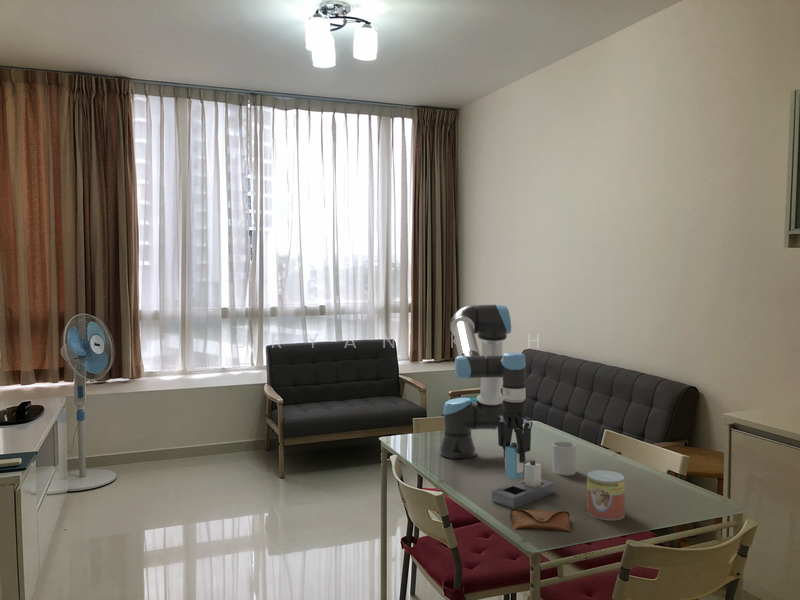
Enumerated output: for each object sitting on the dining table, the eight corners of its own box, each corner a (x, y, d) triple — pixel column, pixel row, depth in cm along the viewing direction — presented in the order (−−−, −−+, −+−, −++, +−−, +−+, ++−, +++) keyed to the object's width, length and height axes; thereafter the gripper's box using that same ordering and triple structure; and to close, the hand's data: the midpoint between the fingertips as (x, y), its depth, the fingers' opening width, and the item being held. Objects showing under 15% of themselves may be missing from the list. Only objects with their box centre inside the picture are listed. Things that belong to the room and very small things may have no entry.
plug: (505, 476, 197) (505, 443, 197) (513, 473, 200) (513, 440, 199) (515, 479, 194) (515, 445, 194) (522, 476, 197) (522, 443, 196)
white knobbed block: (524, 493, 204) (524, 460, 203) (531, 490, 206) (531, 458, 206) (534, 496, 201) (533, 463, 200) (541, 493, 203) (541, 461, 203)
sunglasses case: (511, 529, 175) (511, 506, 178) (510, 533, 181) (509, 510, 185) (574, 532, 173) (572, 508, 176) (571, 535, 179) (569, 512, 182)
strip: (513, 510, 190) (513, 498, 190) (492, 502, 197) (491, 491, 196) (554, 494, 204) (554, 482, 204) (532, 487, 211) (532, 476, 211)
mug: (579, 475, 223) (579, 446, 223) (558, 477, 222) (558, 448, 221) (565, 465, 235) (565, 438, 235) (545, 467, 234) (544, 439, 233)
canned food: (582, 515, 186) (582, 477, 185) (592, 504, 195) (592, 467, 195) (619, 523, 179) (619, 484, 179) (628, 511, 189) (628, 473, 188)
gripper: (486, 397, 200) (487, 466, 201) (527, 405, 187) (528, 478, 188) (501, 394, 205) (501, 462, 206) (542, 402, 192) (542, 473, 193)
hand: (514, 469), depth 197 cm, fingers closed on plug, 4 cm apart
